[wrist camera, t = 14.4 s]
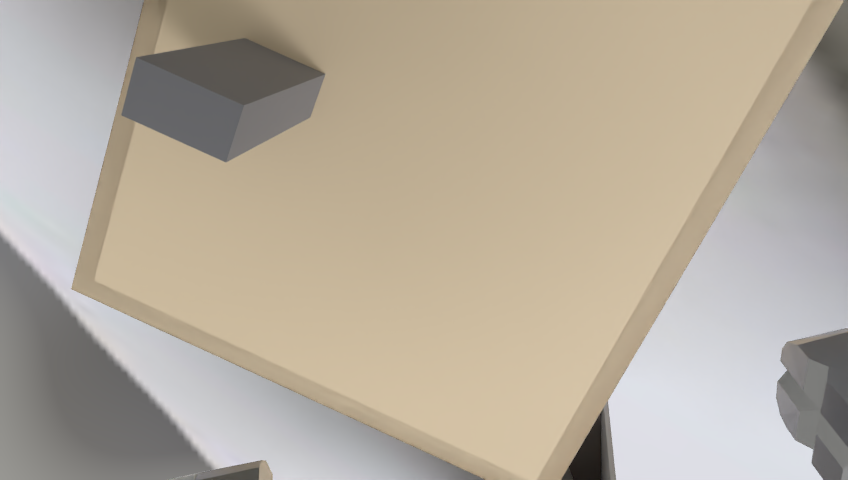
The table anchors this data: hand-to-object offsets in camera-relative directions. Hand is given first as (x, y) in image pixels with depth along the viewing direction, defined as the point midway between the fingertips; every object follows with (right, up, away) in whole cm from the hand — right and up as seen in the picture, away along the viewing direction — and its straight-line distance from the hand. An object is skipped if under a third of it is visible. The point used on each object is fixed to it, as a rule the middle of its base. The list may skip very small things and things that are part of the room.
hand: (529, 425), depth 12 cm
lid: (-2, +7, +16) cm, 18 cm away
